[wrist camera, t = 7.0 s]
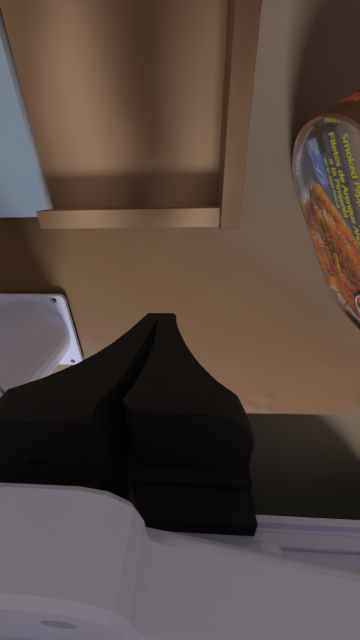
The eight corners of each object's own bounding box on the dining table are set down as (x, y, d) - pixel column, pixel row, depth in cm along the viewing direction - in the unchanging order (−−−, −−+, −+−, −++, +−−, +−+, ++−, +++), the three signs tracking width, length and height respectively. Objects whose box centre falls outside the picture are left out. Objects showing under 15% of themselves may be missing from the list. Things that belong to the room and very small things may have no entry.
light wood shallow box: (70, 220, 18) (31, 231, 14) (-5, -100, 11) (-135, -288, 7) (227, 218, 17) (238, 229, 13) (253, -124, 10) (297, -349, 6)
